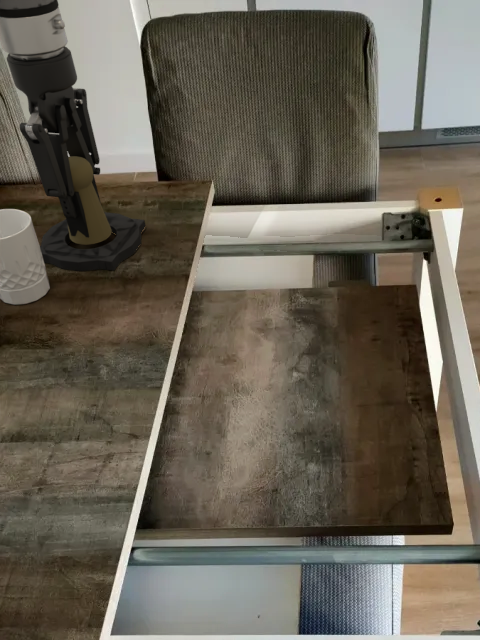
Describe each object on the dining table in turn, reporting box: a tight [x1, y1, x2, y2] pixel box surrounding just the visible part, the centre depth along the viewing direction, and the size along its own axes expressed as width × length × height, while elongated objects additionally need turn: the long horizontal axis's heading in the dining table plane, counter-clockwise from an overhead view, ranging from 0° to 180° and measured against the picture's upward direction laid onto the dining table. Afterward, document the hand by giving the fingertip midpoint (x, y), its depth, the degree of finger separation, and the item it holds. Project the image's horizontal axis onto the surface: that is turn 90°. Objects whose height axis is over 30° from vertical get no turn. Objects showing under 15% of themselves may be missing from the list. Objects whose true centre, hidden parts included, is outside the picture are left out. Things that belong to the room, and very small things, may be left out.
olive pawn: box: [67, 156, 112, 246], centre depth 93 cm, size 6×6×11 cm
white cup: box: [0, 208, 51, 306], centre depth 86 cm, size 8×8×10 cm
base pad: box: [40, 211, 147, 272], centre depth 97 cm, size 14×14×2 cm
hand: (88, 226), depth 96 cm, fingers closed on olive pawn, 4 cm apart
